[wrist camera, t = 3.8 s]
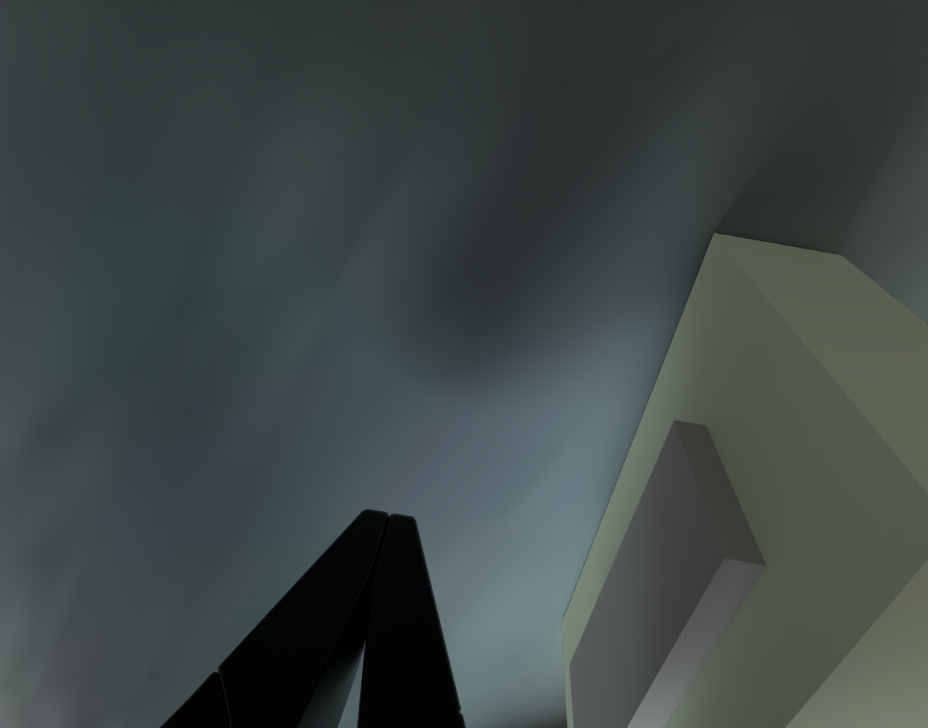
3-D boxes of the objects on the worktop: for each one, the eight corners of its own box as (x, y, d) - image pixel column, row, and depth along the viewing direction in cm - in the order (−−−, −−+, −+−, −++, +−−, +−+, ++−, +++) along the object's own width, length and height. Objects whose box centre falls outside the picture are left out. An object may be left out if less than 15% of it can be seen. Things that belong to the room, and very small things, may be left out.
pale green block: (841, 255, 9) (1243, 576, 4) (642, 638, 14) (707, 986, 9) (685, 227, 9) (891, 515, 4) (542, 621, 14) (554, 961, 9)
